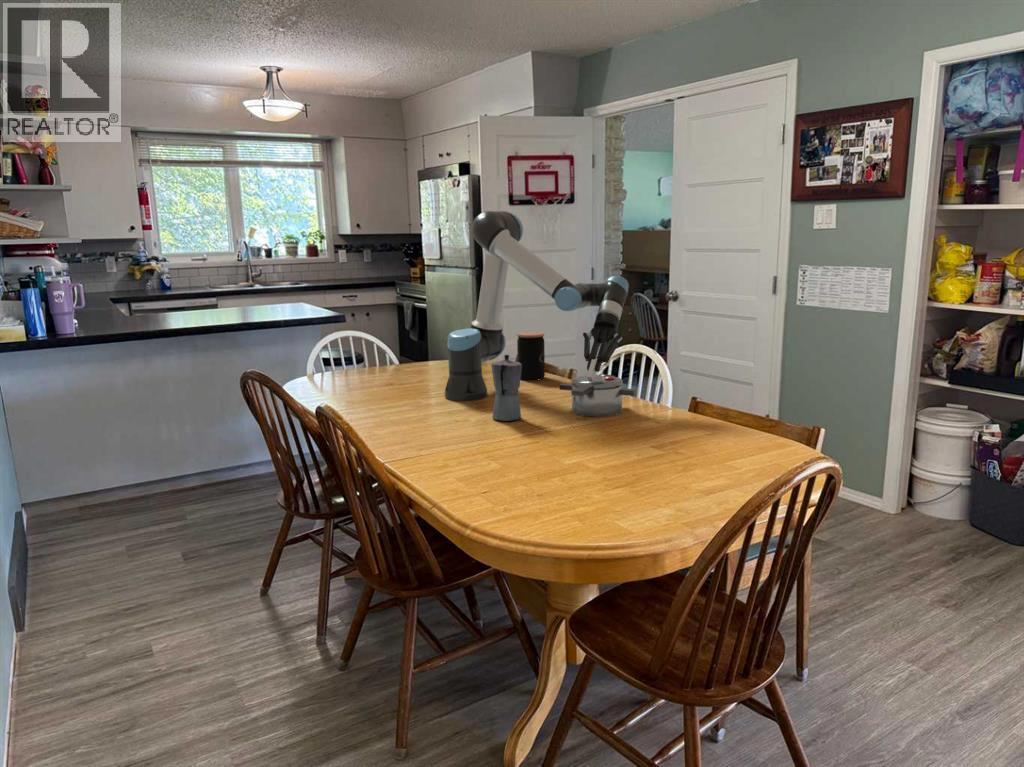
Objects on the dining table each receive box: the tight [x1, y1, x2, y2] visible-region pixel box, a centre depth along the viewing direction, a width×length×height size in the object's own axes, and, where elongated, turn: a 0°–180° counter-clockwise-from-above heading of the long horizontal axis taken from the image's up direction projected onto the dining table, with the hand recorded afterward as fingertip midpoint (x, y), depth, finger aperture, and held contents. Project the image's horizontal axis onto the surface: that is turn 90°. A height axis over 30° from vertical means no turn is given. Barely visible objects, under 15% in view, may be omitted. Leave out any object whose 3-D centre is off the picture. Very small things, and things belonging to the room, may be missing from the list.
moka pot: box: [490, 354, 522, 422], centre depth 213 cm, size 10×15×20 cm, turn 174°
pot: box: [558, 382, 637, 418], centre depth 223 cm, size 25×18×9 cm
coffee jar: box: [516, 331, 546, 381], centre depth 274 cm, size 11×11×18 cm
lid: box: [570, 373, 623, 396], centre depth 218 cm, size 16×26×2 cm, turn 153°
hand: (590, 379), depth 212 cm, fingers closed
